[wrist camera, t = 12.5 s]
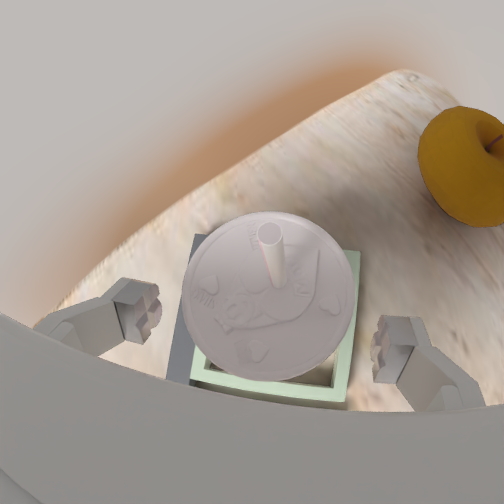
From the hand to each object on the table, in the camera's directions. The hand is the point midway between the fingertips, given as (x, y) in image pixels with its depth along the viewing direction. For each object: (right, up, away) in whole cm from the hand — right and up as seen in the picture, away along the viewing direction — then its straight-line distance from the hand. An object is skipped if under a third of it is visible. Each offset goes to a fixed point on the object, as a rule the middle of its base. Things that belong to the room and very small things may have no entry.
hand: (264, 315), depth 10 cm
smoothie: (+1, -2, +9) cm, 10 cm away
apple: (+16, +7, +11) cm, 20 cm away
